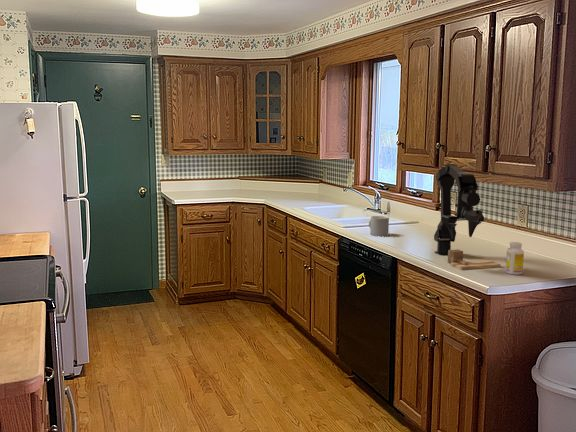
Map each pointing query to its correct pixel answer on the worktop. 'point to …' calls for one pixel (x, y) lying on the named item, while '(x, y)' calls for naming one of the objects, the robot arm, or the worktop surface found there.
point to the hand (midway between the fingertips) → (461, 237)
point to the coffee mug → (379, 226)
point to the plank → (476, 264)
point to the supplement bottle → (514, 259)
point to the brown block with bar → (456, 256)
